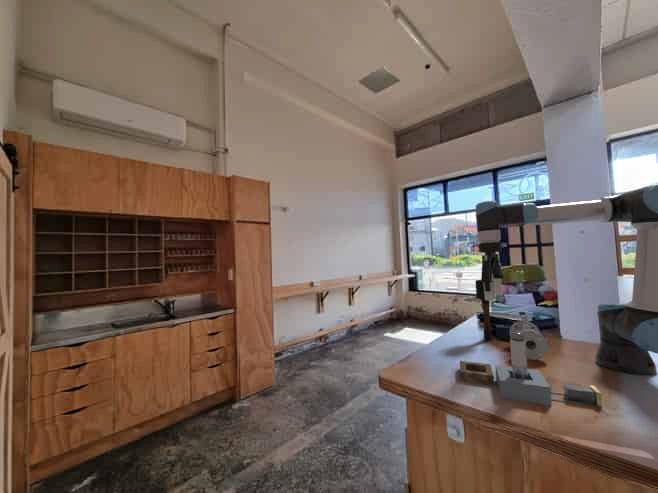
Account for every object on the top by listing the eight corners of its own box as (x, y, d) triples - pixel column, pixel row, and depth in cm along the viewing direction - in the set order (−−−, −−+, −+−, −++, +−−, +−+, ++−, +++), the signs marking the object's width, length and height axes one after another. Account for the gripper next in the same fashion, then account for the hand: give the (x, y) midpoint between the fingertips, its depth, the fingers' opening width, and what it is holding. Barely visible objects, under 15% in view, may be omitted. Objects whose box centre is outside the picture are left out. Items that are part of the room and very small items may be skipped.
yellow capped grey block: (594, 401, 78) (593, 385, 78) (602, 409, 74) (600, 392, 74) (564, 396, 81) (563, 381, 81) (569, 404, 77) (568, 388, 77)
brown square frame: (491, 375, 98) (490, 364, 98) (494, 388, 89) (493, 375, 89) (460, 371, 102) (459, 360, 102) (460, 383, 93) (460, 371, 93)
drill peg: (527, 389, 85) (523, 331, 86) (530, 395, 81) (526, 335, 82) (512, 387, 87) (508, 330, 87) (514, 393, 83) (510, 334, 84)
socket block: (572, 393, 83) (570, 373, 84) (589, 414, 72) (587, 392, 73) (496, 383, 92) (495, 365, 92) (501, 401, 81) (500, 380, 81)
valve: (550, 362, 107) (547, 323, 107) (514, 357, 113) (511, 321, 113) (539, 345, 126) (537, 312, 127) (509, 342, 132) (506, 311, 132)
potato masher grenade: (501, 342, 131) (496, 280, 132) (481, 342, 133) (477, 281, 134) (494, 337, 139) (490, 279, 141) (476, 337, 141) (472, 279, 142)
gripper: (487, 242, 115) (491, 292, 115) (468, 242, 97) (473, 302, 97) (507, 241, 110) (512, 293, 109) (492, 241, 92) (497, 303, 91)
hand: (494, 297), depth 103 cm, fingers open, 13 cm apart
